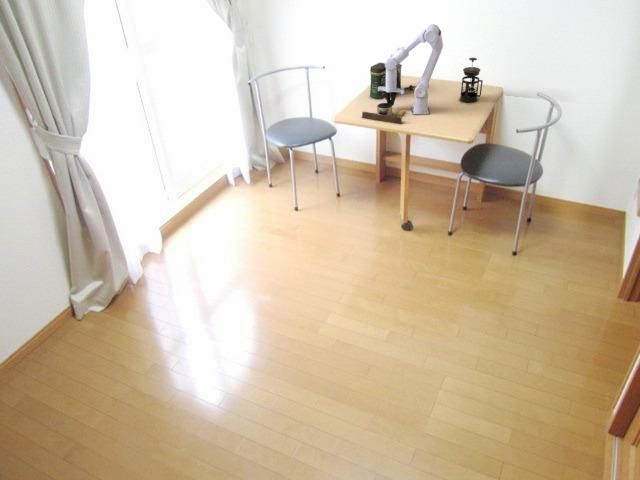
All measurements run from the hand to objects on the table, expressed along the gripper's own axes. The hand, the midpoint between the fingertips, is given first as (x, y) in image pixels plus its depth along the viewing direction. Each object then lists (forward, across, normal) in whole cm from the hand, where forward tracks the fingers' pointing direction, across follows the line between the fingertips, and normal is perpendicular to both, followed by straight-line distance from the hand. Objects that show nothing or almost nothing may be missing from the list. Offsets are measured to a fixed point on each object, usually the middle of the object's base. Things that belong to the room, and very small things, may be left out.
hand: (390, 104), depth 281 cm
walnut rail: (+3, +1, -14) cm, 15 cm away
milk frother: (+3, -6, +27) cm, 28 cm away
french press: (+3, +36, +27) cm, 45 cm away
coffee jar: (+3, -14, +15) cm, 21 cm away
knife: (+3, +8, -7) cm, 11 cm away
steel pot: (+3, 0, -5) cm, 5 cm away
